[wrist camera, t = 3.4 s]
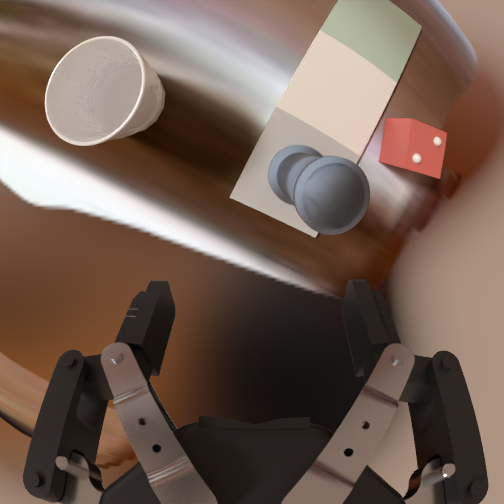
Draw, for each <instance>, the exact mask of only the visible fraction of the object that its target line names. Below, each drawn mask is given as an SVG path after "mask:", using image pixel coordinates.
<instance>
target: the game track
mask: <svg viewBox="0 0 504 504" xmlns="http://www.w3.org/2000/svg"><path fill="white" fill-rule="evenodd" d="M421 28H422V26H421V25H419V24H418V23H417V22H416V21H415V20H413V19H412V18H411V17H410V16H409V15H407V14H406V13H405V12H404V11H402V10H401V9H400V8H399V7H397V6H396V5H395V4H393V3H392V2H391V1H389V0H338V1H337V3H336V4H335V6H334V8H333V9H332V11H331V12H330V14H329V16H328V17H327V19H326V21H325V22H324V24H323V26H322V27H321V29H320V31H319V32H318V34H317V36H316V37H315V39H314V41H313V42H312V44H311V46H310V47H309V49H308V51H307V53H306V54H305V56H304V58H303V60H302V61H301V63H300V65H299V66H298V68H297V70H296V72H295V74H294V75H293V77H292V79H291V81H290V82H289V84H288V86H287V88H286V90H285V91H284V93H283V95H282V97H281V99H280V101H279V102H278V104H277V106H276V108H275V110H274V112H273V113H272V115H271V117H270V119H269V121H268V123H267V125H266V127H265V128H264V130H263V132H262V134H261V136H260V138H259V140H258V142H257V144H256V146H255V148H254V150H253V151H252V153H251V155H250V157H249V159H248V161H247V163H246V165H245V167H244V169H243V171H242V173H241V175H240V177H239V179H238V181H237V183H236V185H235V187H234V189H233V191H232V193H231V195H230V198H232V199H234V200H236V201H239V202H241V203H243V204H245V205H247V206H250V207H252V208H254V209H256V210H258V211H260V212H263V213H265V214H267V215H269V216H271V217H273V218H275V219H277V220H280V221H282V222H284V223H286V224H288V225H290V226H292V227H294V228H296V229H298V230H300V231H303V232H305V233H307V234H309V235H311V236H313V237H315V238H316V236H317V234H318V232H316V231H314V230H313V229H311V228H310V227H309V226H307V224H306V223H305V222H304V221H303V220H302V219H301V218H300V216H299V215H298V213H297V211H296V208H295V206H294V205H290V204H287V203H285V202H283V201H282V200H281V199H279V198H278V197H277V196H276V194H275V193H274V192H273V190H272V189H271V187H270V184H269V180H268V170H269V166H270V163H271V161H272V159H273V158H274V156H275V155H276V154H277V153H278V152H279V151H281V150H282V149H284V148H286V147H288V146H292V145H304V146H308V147H311V148H313V149H315V150H317V151H318V152H319V153H320V154H321V155H322V156H323V157H324V156H338V157H342V158H346V159H348V160H350V161H352V162H354V163H355V164H357V162H358V160H359V158H360V156H361V154H362V152H363V150H364V148H365V146H366V145H367V143H368V141H369V139H370V137H371V135H372V133H373V131H374V129H375V127H376V125H377V123H378V121H379V119H380V117H381V115H382V113H383V111H384V109H385V107H386V105H387V103H388V101H389V99H390V97H391V94H392V92H393V90H394V88H395V86H396V84H397V82H398V80H399V78H400V75H401V73H402V71H403V69H404V67H405V65H406V62H407V60H408V58H409V56H410V54H411V51H412V49H413V47H414V45H415V42H416V40H417V38H418V35H419V33H420V31H421Z"/></svg>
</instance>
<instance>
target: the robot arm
mask: <svg viewBox="0 0 504 504" xmlns="http://www.w3.org/2000/svg"><path fill="white" fill-rule="evenodd" d="M342 314H343V320H344V324H345V328H346V332H347V336H348V341H349V346H350V350H351V355H352V359H353V364H354V369H355V374H356V377H358V376H364V378H365V383H366V385H365V386H364V388H363V390H362V391H361V393H360V395H359V396H358V398H357V400H356V401H355V403H354V405H353V406H352V408H351V410H350V411H349V413H348V414H347V416H346V417H345V419H344V420H343V422H342V423H341V425H340V427H339V428H338V429H337V431H336V432H335V434H334V433H333V432H331V431H330V430H328V429H326V428H324V427H321V426H318V425H315V424H310V422H309V417H303V418H282V419H278V420H274V421H269V422H265V423H261V424H255V425H252V424H248V423H244V422H240V421H237V420H233V419H229V418H225V417H211V416H199V422H195V423H191V424H188V425H185V426H183V427H181V428H179V429H177V428H176V426H175V425H174V423H173V422H172V420H171V419H170V417H169V415H168V414H167V412H166V410H165V408H164V407H163V405H162V403H161V401H160V400H159V398H158V396H157V394H156V392H155V390H154V388H153V386H152V385H151V383H150V381H149V379H150V376H151V375H153V376H159V374H160V370H161V366H162V362H163V358H164V354H165V350H166V347H167V343H168V340H169V336H170V332H171V329H172V325H173V322H174V318H175V304H174V301H173V297H172V294H171V290H170V287H169V283H168V282H167V281H150V283H149V285H148V287H147V290H146V292H140V293H139V294H138V295H137V296H136V297H135V298H134V299H133V300H132V303H131V305H130V307H129V310H128V312H127V314H126V317H125V319H124V321H123V323H122V326H121V328H120V331H119V333H118V335H117V338H116V340H115V343H113V344H111V345H109V346H108V347H106V348H105V349H104V351H103V352H102V354H100V355H94V356H87V357H84V356H83V355H82V354H81V353H80V352H79V351H77V350H70V351H67V352H65V353H64V354H63V355H62V356H61V357H60V358H59V360H58V362H57V365H56V368H55V370H54V372H53V375H52V378H51V380H50V383H49V386H48V389H47V391H46V394H45V397H44V400H43V403H42V406H41V409H40V412H39V415H38V419H37V422H36V425H35V429H34V432H33V436H32V440H31V443H30V447H29V451H28V455H27V460H26V464H25V469H24V474H23V482H24V485H25V488H26V489H27V491H28V492H29V493H30V494H31V495H33V496H35V497H37V498H40V499H43V500H46V501H49V502H52V503H55V504H479V503H480V502H481V501H482V500H483V498H484V497H485V495H486V493H487V490H488V477H487V470H486V465H485V458H484V453H483V447H482V442H481V437H480V433H479V429H478V424H477V420H476V416H475V412H474V409H473V405H472V402H471V398H470V394H469V391H468V388H467V384H466V381H465V378H464V375H463V372H462V369H461V366H460V364H459V361H458V359H457V358H456V356H455V355H454V354H452V353H450V352H448V351H439V352H437V353H436V354H435V355H434V356H433V358H429V357H422V356H417V355H414V354H413V353H412V351H411V350H410V349H409V348H408V347H407V346H405V345H402V344H401V342H400V340H399V337H398V334H397V331H396V329H395V326H394V323H393V320H392V318H391V316H390V313H389V310H388V309H387V305H386V302H385V300H384V298H383V297H382V296H381V295H380V294H379V292H378V291H377V290H373V291H371V290H370V288H369V285H368V282H367V280H366V279H358V280H349V281H348V285H347V289H346V293H345V297H344V301H343V307H342ZM111 399H115V400H114V401H113V404H114V407H115V410H116V412H117V415H118V417H119V419H120V422H121V424H122V426H123V428H124V431H125V433H126V435H127V437H128V439H129V441H130V443H131V445H132V447H133V449H134V451H135V453H136V455H137V457H138V459H139V462H138V463H137V464H136V465H134V466H133V467H132V468H131V469H130V470H128V471H127V472H126V473H125V474H124V475H122V476H121V477H120V478H118V479H117V480H116V481H115V482H113V483H112V484H111V485H110V486H108V487H107V488H106V489H104V488H103V485H102V475H101V471H100V469H99V467H98V466H97V465H96V464H95V461H96V455H97V450H98V445H99V440H100V435H101V431H102V426H103V422H104V417H105V413H106V409H107V405H108V401H109V400H111ZM398 401H403V402H408V406H409V411H410V416H411V422H412V428H413V435H414V441H415V448H416V456H417V465H418V469H417V470H415V471H414V473H413V474H412V475H411V477H410V479H409V486H408V491H407V493H406V495H405V496H404V497H402V496H401V495H400V494H399V493H398V492H397V491H396V490H395V489H394V488H392V487H391V486H390V485H389V484H388V483H387V482H385V480H383V479H382V478H381V477H380V476H379V475H378V474H377V473H376V472H374V471H373V470H372V469H371V468H370V467H369V466H368V465H367V463H368V462H369V460H370V458H371V457H372V455H373V453H374V452H375V450H376V448H377V446H378V445H379V443H380V441H381V439H382V437H383V436H384V434H385V432H386V430H387V428H388V426H389V424H390V422H391V420H392V418H393V416H394V414H395V412H396V410H397V408H398Z"/></svg>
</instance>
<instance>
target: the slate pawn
mask: <svg viewBox="0 0 504 504" xmlns="http://www.w3.org/2000/svg"><path fill="white" fill-rule="evenodd" d="M268 180H269V184H270V187H271V189H272V190H273V192H274V193H275V194H276V196H277V197H278V198H279V199H281V200H282V201H283V202H285V203H287V204H290V205H294V206H295V208H296V211H297V213H298V215H299V216H300V218H301V219H302V220H303V221H304V222H305V223H306V224H307V226H309V227H310V228H311V229H313V230H314V231H316V232H319V233H322V234H327V235H335V234H340V233H343V232H346V231H348V230H350V229H351V228H353V227H354V226H355V225H356V224H357V223H358V222H359V221H360V220H361V219H362V217H363V216H364V214H365V212H366V210H367V208H368V205H369V200H370V188H369V183H368V180H367V177H366V175H365V174H364V172H363V171H362V169H361V168H360V167H359V166H358V165H357V164H355V163H354V162H352V161H350V160H348V159H346V158H342V157H338V156H324V157H323V156H322V155H321V154H320V153H319V152H318V151H317V150H315V149H313V148H311V147H308V146H304V145H292V146H288V147H286V148H284V149H282V150H281V151H279V152H278V153H277V154H276V155H275V156H274V158H273V159H272V161H271V163H270V166H269V170H268Z"/></svg>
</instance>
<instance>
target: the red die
mask: <svg viewBox="0 0 504 504" xmlns="http://www.w3.org/2000/svg"><path fill="white" fill-rule="evenodd" d="M446 137H447V133H446V132H443V131H441V130H439V129H436V128H434V127H432V126H429V125H427V124H424V123H422V122H419V121H417V120H414V119H409V118H385V126H384V133H383V140H382V147H381V153H380V159H379V162H382V163H386V164H390V165H393V166H397V167H400V168H404V169H408V170H411V171H415V172H418V173H422V174H425V175H428V176H432V177H435V178H438V179H440V175H441V169H442V164H443V158H444V151H445V144H446Z"/></svg>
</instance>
